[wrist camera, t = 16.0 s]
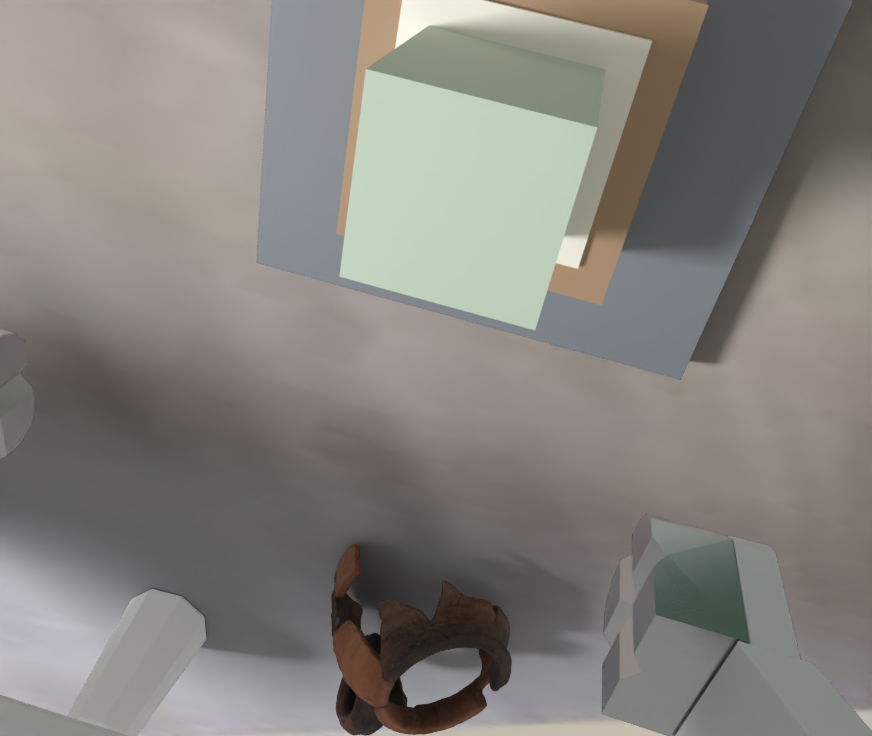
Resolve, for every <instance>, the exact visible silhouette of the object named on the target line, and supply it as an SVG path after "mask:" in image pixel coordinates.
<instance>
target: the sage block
mask: <svg viewBox="0 0 872 736" xmlns="http://www.w3.org/2000/svg"><path fill="white" fill-rule="evenodd" d="M604 76H605V69H602V68H598V67H594V66H590V65H586V64H582V63H578V62H574V61H570V60H566V59H562V58H558V57H554V56H550V55H546V54H542V53H537V52H533V51H529V50H525V49H521V48H517V47H513V46H509V45H505V44H501V43H497V42H493V41H489V40H485V39H481V38H477V37H473V36H468V35H464V34H460V33H456V32H452V31H448V30H444V29H440V28H436V27H432V26H427V27H426V28H424V29H423V30H422V31H420V32H419V33H417V34H416V35H414V36H413V37H411V38H410V39H409V40H407V41H406V42H404V43H403V44H401V45H400V46H398V47H397V48H396V49H394V50H393V51H391V52H390V53H388V54H387V55H385V56H384V57H383V58H381V59H380V60H378V61H377V62H375V63H374V64H373V65H371V66H370V67H368V68H367V69H366V73H365V80H364V88H363V96H362V104H361V111H360V119H359V127H358V135H357V143H356V150H355V158H354V166H353V174H352V182H351V189H350V197H349V205H348V213H347V220H346V228H345V236H344V244H343V252H342V259H341V267H340V275H339V277H343V278H346V279H350V280H353V281H357V282H361V283H364V284H368V285H372V286H375V287H379V288H383V289H386V290H390V291H394V292H397V293H401V294H404V295H408V296H412V297H415V298H419V299H423V300H426V301H430V302H434V303H437V304H441V305H444V306H448V307H452V308H455V309H459V310H463V311H466V312H470V313H474V314H477V315H481V316H485V317H488V318H492V319H495V320H499V321H503V322H506V323H510V324H514V325H517V326H521V327H525V328H528V329H532V330H535V329H536V326H537V322H538V319H539V316H540V313H541V309H542V306H543V303H544V300H545V296H546V293H547V290H548V287H549V283H550V280H551V277H552V274H553V270H554V267H555V264H556V261H557V257H558V254H559V251H560V248H561V244H562V241H563V238H564V235H565V231H566V228H567V225H568V222H569V218H570V215H571V212H572V209H573V205H574V202H575V199H576V195H577V192H578V189H579V186H580V182H581V179H582V176H583V173H584V169H585V166H586V163H587V160H588V156H589V153H590V150H591V147H592V143H593V140H594V137H595V134H596V130H597V127H598V119H599V112H600V105H601V98H602V91H603V84H604Z"/></svg>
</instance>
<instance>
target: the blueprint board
mask: <svg viewBox="0 0 872 736" xmlns="http://www.w3.org/2000/svg"><path fill="white" fill-rule="evenodd" d="M852 2H853V0H272V5H271V22H270V39H269V56H268V73H267V91H266V108H265V125H264V142H263V159H262V177H261V194H260V211H259V228H258V245H257V262H256V263H259V264H263V265H266V266H270V267H273V268H277V269H281V270H284V271H288V272H292V273H295V274H299V275H302V276H306V277H310V278H313V279H317V280H321V281H324V282H328V283H331V284H335V285H339V286H342V287H346V288H350V289H353V290H357V291H360V292H364V293H368V294H371V295H375V296H379V297H382V298H386V299H389V300H393V301H397V302H400V303H404V304H408V305H411V306H415V307H418V308H422V309H426V310H429V311H433V312H437V313H440V314H444V315H447V316H451V317H455V318H458V319H462V320H466V321H469V322H473V323H476V324H480V325H484V326H487V327H491V328H495V329H498V330H502V331H505V332H509V333H513V334H516V335H520V336H524V337H527V338H531V339H534V340H538V341H542V342H545V343H549V344H553V345H556V346H560V347H564V348H567V349H571V350H574V351H578V352H582V353H585V354H589V355H593V356H596V357H600V358H603V359H607V360H611V361H614V362H618V363H622V364H625V365H629V366H632V367H636V368H640V369H643V370H647V371H651V372H654V373H658V374H661V375H665V376H669V377H672V378H676V379H680V380H681V378H682V376H683V373H684V371H685V369H686V367H687V365H688V362H689V360H690V358H691V356H692V354H693V351H694V349H695V347H696V345H697V343H698V340H699V338H700V336H701V334H702V332H703V329H704V327H705V325H706V323H707V321H708V318H709V316H710V314H711V312H712V310H713V307H714V305H715V303H716V301H717V299H718V297H719V294H720V292H721V290H722V288H723V286H724V283H725V281H726V279H727V277H728V275H729V272H730V270H731V268H732V266H733V264H734V261H735V259H736V257H737V255H738V253H739V250H740V248H741V246H742V244H743V242H744V239H745V237H746V235H747V233H748V231H749V228H750V226H751V224H752V222H753V220H754V217H755V215H756V213H757V211H758V209H759V206H760V204H761V202H762V200H763V198H764V195H765V193H766V191H767V189H768V187H769V185H770V182H771V180H772V178H773V176H774V174H775V171H776V169H777V167H778V165H779V163H780V160H781V158H782V156H783V154H784V152H785V149H786V147H787V145H788V143H789V141H790V138H791V136H792V134H793V132H794V130H795V127H796V125H797V123H798V121H799V119H800V116H801V114H802V112H803V110H804V108H805V105H806V103H807V101H808V99H809V97H810V94H811V92H812V90H813V88H814V86H815V84H816V81H817V79H818V77H819V75H820V73H821V70H822V68H823V66H824V64H825V62H826V59H827V57H828V55H829V53H830V51H831V48H832V46H833V44H834V42H835V40H836V37H837V35H838V33H839V31H840V29H841V26H842V24H843V22H844V20H845V18H846V15H847V13H848V11H849V9H850V7H851V4H852ZM427 26H432V27H436V28H440V29H444V30H448V31H452V32H456V33H460V34H464V35H468V36H473V37H477V38H481V39H485V40H489V41H493V42H497V43H501V44H505V45H509V46H513V47H517V48H521V49H525V50H529V51H533V52H537V53H542V54H546V55H550V56H554V57H558V58H562V59H566V60H570V61H574V62H578V63H582V64H586V65H590V66H594V67H598V68H602V69H605V76H604V84H603V91H602V98H601V105H600V112H599V119H598V127H597V130H596V134H595V137H594V140H593V143H592V147H591V150H590V153H589V156H588V160H587V163H586V166H585V169H584V173H583V176H582V179H581V182H580V186H579V189H578V192H577V195H576V199H575V202H574V205H573V209H572V212H571V215H570V218H569V222H568V225H567V228H566V231H565V235H564V238H563V241H562V244H561V248H560V251H559V254H558V257H557V261H556V264H555V267H554V270H553V274H552V277H551V280H550V283H549V287H548V290H547V293H546V296H545V300H544V303H543V306H542V309H541V313H540V316H539V319H538V322H537V326H536V329H535V330H532V329H528V328H525V327H521V326H517V325H514V324H510V323H506V322H503V321H499V320H495V319H492V318H488V317H485V316H481V315H477V314H474V313H470V312H466V311H463V310H459V309H455V308H452V307H448V306H444V305H441V304H437V303H434V302H430V301H426V300H423V299H419V298H415V297H412V296H408V295H404V294H401V293H397V292H394V291H390V290H386V289H383V288H379V287H375V286H372V285H368V284H364V283H361V282H357V281H353V280H350V279H346V278H343V277H339V275H340V267H341V259H342V252H343V244H344V236H345V228H346V220H347V213H348V205H349V197H350V189H351V182H352V174H353V166H354V158H355V150H356V143H357V135H358V127H359V119H360V111H361V104H362V96H363V88H364V80H365V73H366V69H367V68H368V67H370V66H371V65H373V64H374V63H375V62H377V61H378V60H380V59H381V58H383V57H384V56H385V55H387V54H388V53H390V52H391V51H393V50H394V49H396V48H397V47H398V46H400V45H401V44H403V43H404V42H406V41H407V40H409V39H410V38H411V37H413V36H414V35H416V34H417V33H419V32H420V31H422V30H423V29H424V28H426V27H427Z"/></svg>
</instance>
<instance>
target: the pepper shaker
mask: <svg viewBox="0 0 872 736" xmlns="http://www.w3.org/2000/svg"><path fill="white" fill-rule="evenodd" d="M205 640H206V629H205V618H204V616H203V615H202V614H201V613H200V612H199V611H198V610H197V609H196V608H194V607H193V606H192V605H191V604H190V603H189V602H188V601H187V600H185V599H184V598H183V597H182V596H179V595H175V594H171V593H167V592H163V591H159V590H156V589H150V590H148V591H146V592H144V593H142V594H140V595H138V596H137V597H135V598H133V599H131V601H130V602H129V604H128V606H127V608H126V610H125V612H124V613H123V615H122V617H121V619H120V621H119V623H118V624H117V626H116V628H115V630H114V632H113V633H112V635H111V637H110V639H109V641H108V643H107V644H106V646H105V648H104V650H103V652H102V654H101V655H100V657H99V659H98V661H97V663H96V665H95V666H94V668H93V670H92V672H91V674H90V676H89V677H88V679H87V681H86V683H85V685H84V686H83V688H82V690H81V692H80V694H79V696H78V697H77V699H76V701H75V703H74V705H73V707H72V708H71V710H70V712H69V714H68V717H71V718H74V719H78V720H81V721H84V722H87V723H90V724H93V725H96V726H99V727H103V728H106V729H109V730H112V731H115V732H118V733H121V734H124V735H127V736H137V735H138V734H139V733H140V731H141V730H142V728H143V727H144V726H145V724H146V723H147V721H148V720H149V719H150V717H151V716H152V714H153V713H154V712H155V710H156V709H157V707H158V706H159V705H160V703H161V702H162V701H163V699H164V698H165V696H166V695H167V694H168V692H169V691H170V689H171V688H172V687H173V685H174V684H175V682H176V681H177V680H178V678H179V677H180V675H181V674H182V673H183V671H184V670H185V668H186V667H187V666H188V664H189V663H190V661H191V660H192V659H193V657H194V656H195V654H196V653H197V652H198V650H199V649H200V647H201V646H202V645H203V643H204V642H205Z"/></svg>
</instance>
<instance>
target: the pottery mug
mask: <svg viewBox="0 0 872 736" xmlns="http://www.w3.org/2000/svg"><path fill="white" fill-rule="evenodd" d="M359 555H360V548H359V546H358V545H357V544H355V545H352V546H351V547H350V548H349V549H348V550H347V551H346V552H345V553H344V555H343V557H342V558H341V560H340V562H339V564H338V566H337V569H336V572H335V577H334V583H335V585H334V590H333V593H332V614H331V619H332V636H333V649H334V652H335V654H336V657H337V661H338V665H339V668H340V670H341V672H342V674H343V677H342V680H341V683H340V687H339V691H338V695H337V702H336V713H337V716H338V718H339V721H340V724H341V726H342V727H343V728H344V729H345V730H346V731H347V732H348V733H350V734H352V735H360V734H361V735H370V734H372V733H374V732H376V731H377V730H379V729H380V728H381V727H382V726H383V725H384V726H385V727H387V728H389V729H392V730H393V731H396V732H399V733H404V734H413V735H416V734H428V733H433V732H437V731H442V730H445V729H448V728H451V727H454V726H455V725H457V724H460V723H462V722H464V721H466V720H468V719H470V718H472V717H473V716H475V715H477V714H478V713H480V712H481V711H482V710H483V709H484V708H485V707H486V706H487V703H486V700H485V697H484V695H483V693H482V690H483V688H484V687H485V686H486V685H487V684H488V683H490V687H491V689H492V690H493V691H498V690H499V689H500V688H501V687H503V686H504V685H506V684H507V682H508V680H509V677H510V674H511V657H510V654H509V652H508V650H507V646H508V641H509V633H510V626H509V622H508V619H507V617H506V615H505V614H504V612H503V611H502V609H501V608H500V607H499V606H492V604H491V603H490V602H488V601H485V600H483V599H476V598H471V597H467V596H465V595H463V594H461V593H460V592H459V591H458V590H457V589H456V588H455V587H454V586H453V585H452V584H450V583H449V582H447V581H446V580H443V581H442V593H441V597H440V600H439V602H438V605H437V609H436V611H435V614H434V617H433V619H432V621H430V620H429V619H428V618H427V617H426V615H425V614H424V613H423V612H422V611H420V610H419V609H416V608H414V607H410V606H407V605H404V604H402V603H400V602H399V601H398V600H395V599H388V600H384V601H381V602H379V603H378V604H377V608H378V610H379V615H380V618H381V620H382V623H381V627H380V635H379V634H377V633H373V634H371V635H366V636H364V634H363V632H362V630H361V616H362V612H363V608H362V605H360V604H359V603H357V602H355V601H353V600H352V599H351V598H350V597H349V596H348V595H347V591H348V589H349V588H350V586H351V585H352V584H353V583H354V581H355V580H356V579H357V578H358V576H359V575H360V574H361V571H362V570H361V566H360V563H359V562H358V559H359ZM454 648H477V649H479V655H480V658H481V661H482V670H481V675H480V676H479V677H477V678H476V679H475V680H474V681H473V682H472V683H471V684H469V685H468V686H466V687H465V688H463V689H462V690H460V691H459V692H458V693H456V694H454V695H452V696H450V697H447V698H444V699H441V700H438V701H436V702H433V703H429V704H422V705H416V706H415V707H414V708H412V707H407V697H406V695H405V693H404V692H403V689H402V683H401V680H400V676H401V675H402V674H403V673H404V672H405V671H406V670H408V669H409V668H410V667H411V666H413V665H414V664H416V663H417V662H419V661H421V660H423V659H425V658H426V657H428V656H431V655H433V654H435V653H438V652H440V651H445V650H449V649H454Z"/></svg>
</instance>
